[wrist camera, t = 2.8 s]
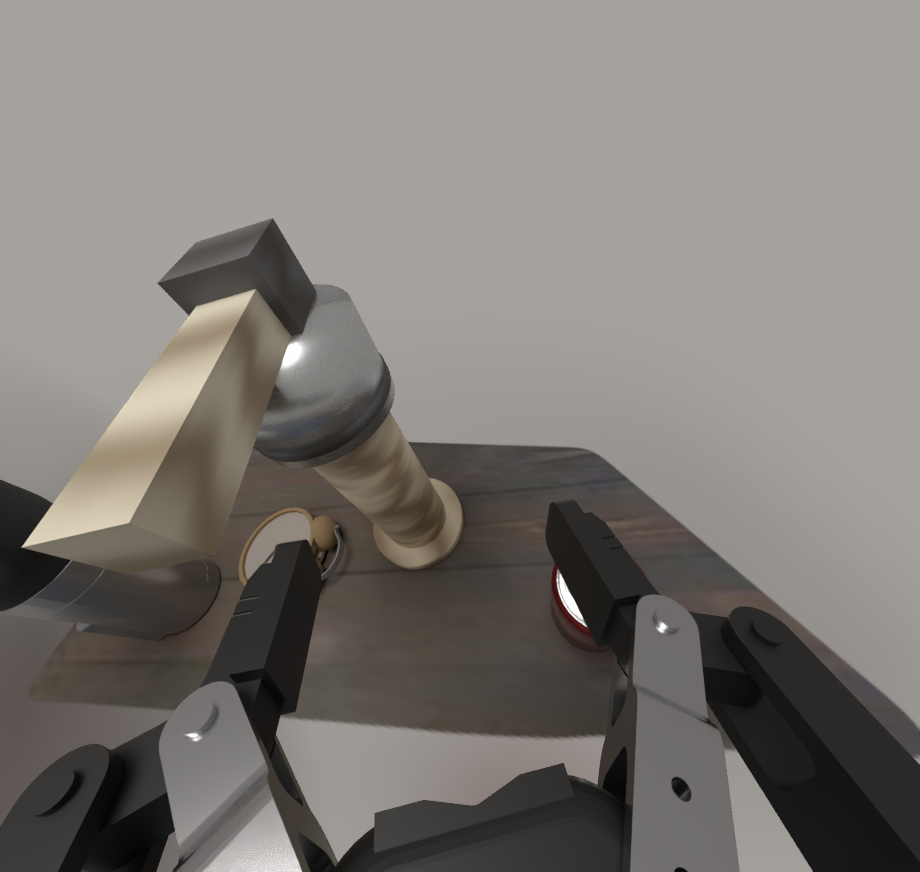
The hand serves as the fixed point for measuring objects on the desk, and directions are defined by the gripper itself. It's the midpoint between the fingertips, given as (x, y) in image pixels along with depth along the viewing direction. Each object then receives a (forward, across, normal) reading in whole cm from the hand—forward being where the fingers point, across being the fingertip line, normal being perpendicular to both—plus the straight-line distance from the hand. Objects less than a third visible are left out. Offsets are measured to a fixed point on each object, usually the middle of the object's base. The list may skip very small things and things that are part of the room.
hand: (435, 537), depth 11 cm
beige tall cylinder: (+25, +1, +24) cm, 35 cm away
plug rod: (+10, +9, -2) cm, 13 cm away
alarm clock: (+26, +18, +29) cm, 43 cm away
